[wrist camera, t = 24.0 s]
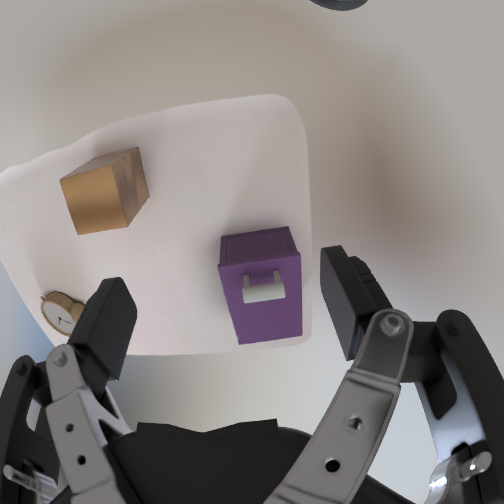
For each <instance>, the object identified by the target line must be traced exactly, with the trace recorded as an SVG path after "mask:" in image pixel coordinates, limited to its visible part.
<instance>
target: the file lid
mask: <svg viewBox="0 0 504 504" xmlns="http://www.w3.org/2000/svg"><path fill="white" fill-rule="evenodd" d="M218 270H219V274H220V278H221V282H222V286H223V289H224V293H225V297H226V300H227V304H228V308H229V311H230V315H231V318H232V322H233V326H234V329H235V333H236V336H237V340H238V343H239V345H240V344H249V343H256V342H264V341H271V340H277V339H284V338H290V337H296V336H302V283H301V255H300V252H295V253H288V254H282V255H275V256H268V257H261V258H255V259H248V260H241V261H234V262H228V263H221V264H218Z"/></svg>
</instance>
